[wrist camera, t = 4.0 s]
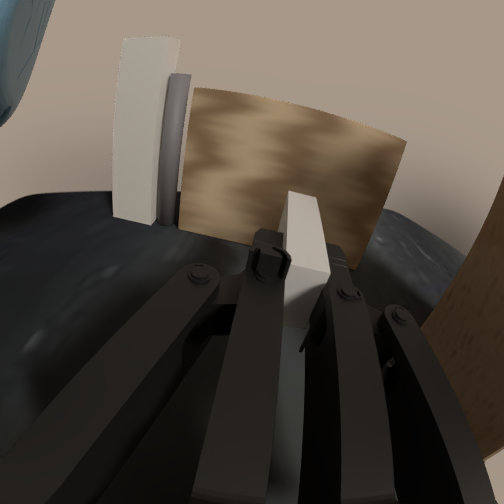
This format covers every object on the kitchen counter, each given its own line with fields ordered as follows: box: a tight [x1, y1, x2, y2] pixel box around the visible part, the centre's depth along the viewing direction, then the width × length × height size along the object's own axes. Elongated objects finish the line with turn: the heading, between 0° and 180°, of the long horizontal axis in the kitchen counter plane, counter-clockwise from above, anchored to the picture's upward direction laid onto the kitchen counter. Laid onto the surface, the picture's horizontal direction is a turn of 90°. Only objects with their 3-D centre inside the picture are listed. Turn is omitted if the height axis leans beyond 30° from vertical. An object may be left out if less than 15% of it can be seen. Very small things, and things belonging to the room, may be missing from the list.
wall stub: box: [112, 36, 191, 226], centre depth 20 cm, size 6×2×16 cm, turn 82°
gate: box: [178, 88, 406, 270], centre depth 22 cm, size 16×3×12 cm, turn 82°
